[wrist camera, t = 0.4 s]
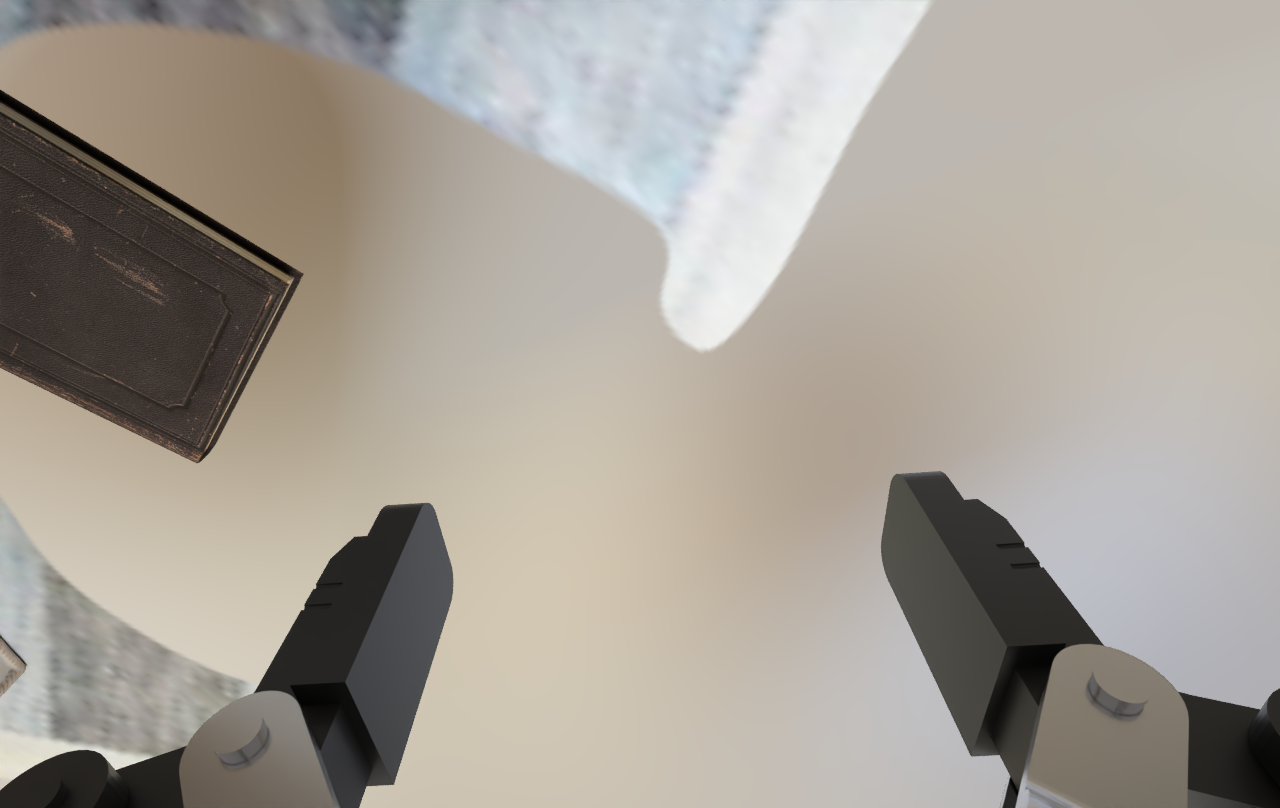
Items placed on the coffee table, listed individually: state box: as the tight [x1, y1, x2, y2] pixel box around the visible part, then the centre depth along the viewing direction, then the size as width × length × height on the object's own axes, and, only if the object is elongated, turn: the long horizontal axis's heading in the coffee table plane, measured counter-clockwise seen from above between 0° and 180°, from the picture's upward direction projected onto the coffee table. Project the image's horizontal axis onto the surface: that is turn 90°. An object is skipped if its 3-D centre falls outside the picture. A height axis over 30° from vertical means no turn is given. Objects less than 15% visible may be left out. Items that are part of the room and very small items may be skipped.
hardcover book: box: [0, 90, 304, 463], centre depth 37 cm, size 16×23×2 cm
